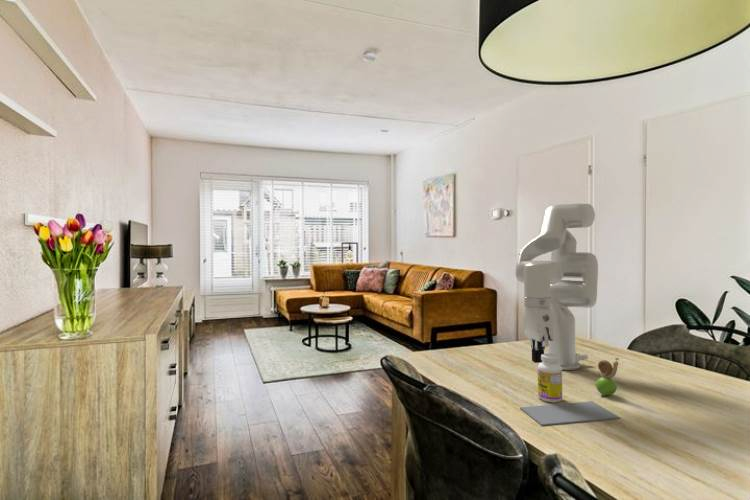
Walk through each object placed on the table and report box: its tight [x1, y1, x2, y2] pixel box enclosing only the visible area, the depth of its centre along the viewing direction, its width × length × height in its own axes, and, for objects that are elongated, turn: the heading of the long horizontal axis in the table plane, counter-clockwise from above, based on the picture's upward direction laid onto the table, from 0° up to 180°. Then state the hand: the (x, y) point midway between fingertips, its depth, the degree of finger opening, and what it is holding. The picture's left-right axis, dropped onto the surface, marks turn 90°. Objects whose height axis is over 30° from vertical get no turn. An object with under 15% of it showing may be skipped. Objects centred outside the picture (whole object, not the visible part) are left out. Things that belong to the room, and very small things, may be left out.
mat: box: [519, 400, 621, 427], centre depth 113 cm, size 22×11×1 cm, turn 98°
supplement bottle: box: [537, 353, 563, 403], centre depth 124 cm, size 7×7×13 cm
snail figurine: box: [595, 357, 619, 397], centre depth 125 cm, size 5×6×12 cm
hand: (538, 361), depth 130 cm, fingers closed
